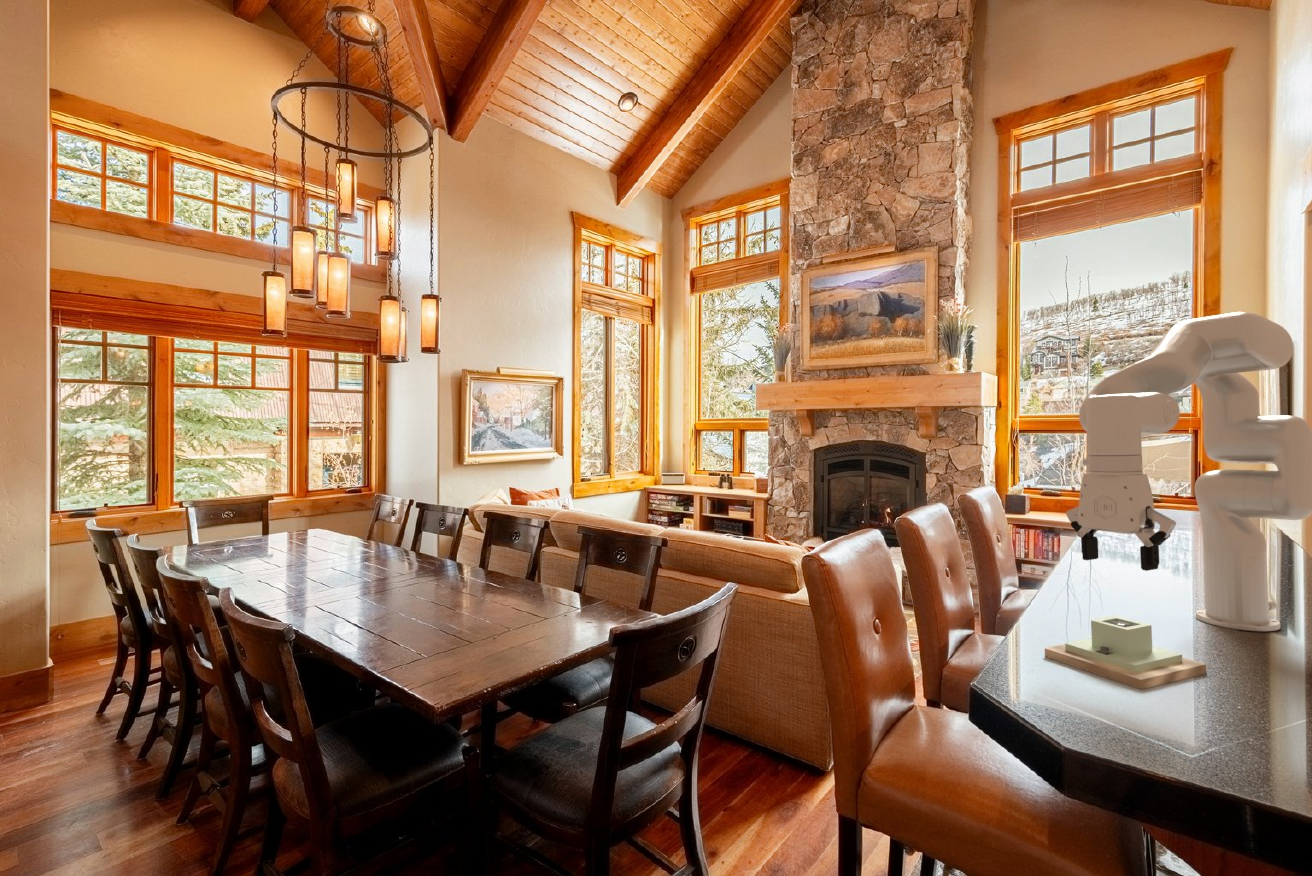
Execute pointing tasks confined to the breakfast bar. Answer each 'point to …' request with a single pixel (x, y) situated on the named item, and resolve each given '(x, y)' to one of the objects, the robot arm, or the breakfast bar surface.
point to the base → (1125, 676)
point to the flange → (1123, 645)
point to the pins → (1105, 649)
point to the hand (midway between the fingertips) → (1118, 564)
